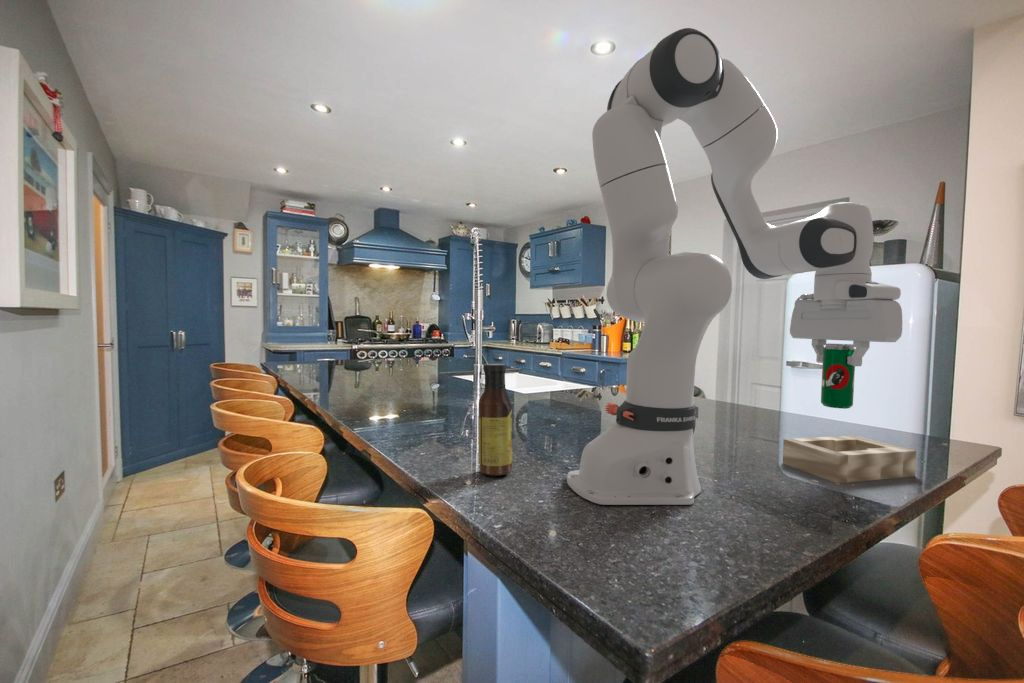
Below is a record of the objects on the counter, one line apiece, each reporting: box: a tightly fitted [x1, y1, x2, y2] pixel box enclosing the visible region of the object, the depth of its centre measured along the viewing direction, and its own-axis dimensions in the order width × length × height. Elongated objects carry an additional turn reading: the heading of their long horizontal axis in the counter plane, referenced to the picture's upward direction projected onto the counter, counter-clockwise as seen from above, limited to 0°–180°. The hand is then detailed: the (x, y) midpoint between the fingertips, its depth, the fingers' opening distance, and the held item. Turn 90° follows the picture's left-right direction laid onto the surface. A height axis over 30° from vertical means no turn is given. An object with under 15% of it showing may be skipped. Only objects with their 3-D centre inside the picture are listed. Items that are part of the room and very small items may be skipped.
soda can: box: [820, 343, 856, 410], centre depth 89 cm, size 5×5×12 cm
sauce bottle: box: [477, 363, 514, 477], centre depth 86 cm, size 6×6×20 cm
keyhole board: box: [782, 434, 917, 484], centre depth 90 cm, size 18×12×5 cm, turn 104°
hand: (838, 364), depth 89 cm, fingers closed on soda can, 5 cm apart
